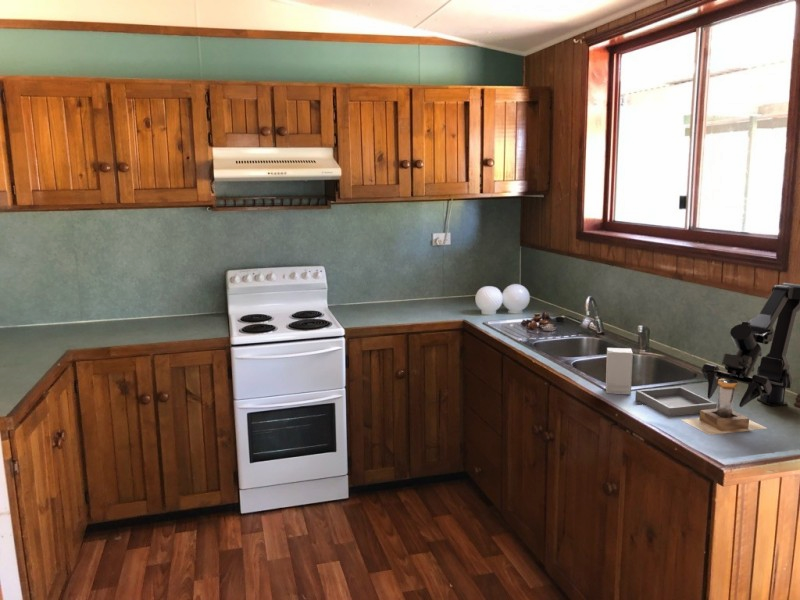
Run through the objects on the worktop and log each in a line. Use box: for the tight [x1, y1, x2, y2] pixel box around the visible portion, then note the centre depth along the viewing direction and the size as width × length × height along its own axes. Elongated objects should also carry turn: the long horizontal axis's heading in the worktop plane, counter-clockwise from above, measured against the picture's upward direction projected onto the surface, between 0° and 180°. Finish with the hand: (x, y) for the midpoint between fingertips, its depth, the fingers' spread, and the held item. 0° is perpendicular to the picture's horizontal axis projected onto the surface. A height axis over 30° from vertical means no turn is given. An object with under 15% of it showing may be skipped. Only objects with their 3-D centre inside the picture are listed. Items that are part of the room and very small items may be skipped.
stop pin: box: [716, 378, 739, 418], centre depth 196 cm, size 5×5×13 cm
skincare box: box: [605, 347, 634, 395], centre depth 227 cm, size 8×6×15 cm
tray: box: [634, 386, 718, 417], centre depth 213 cm, size 17×17×4 cm
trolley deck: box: [681, 408, 768, 436], centre depth 197 cm, size 20×12×4 cm, turn 105°
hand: (724, 402), depth 195 cm, fingers open, 9 cm apart
